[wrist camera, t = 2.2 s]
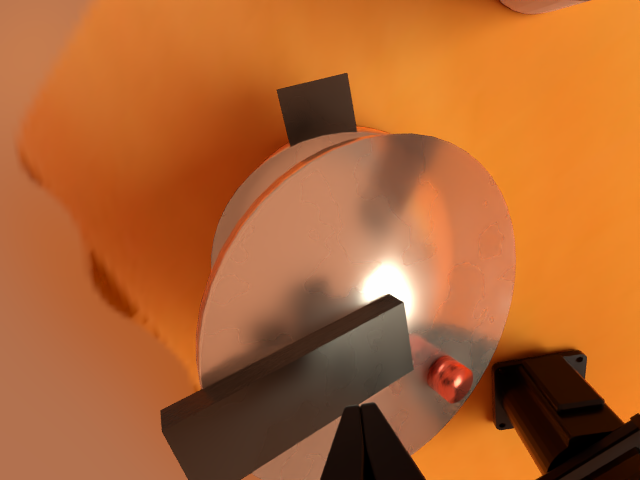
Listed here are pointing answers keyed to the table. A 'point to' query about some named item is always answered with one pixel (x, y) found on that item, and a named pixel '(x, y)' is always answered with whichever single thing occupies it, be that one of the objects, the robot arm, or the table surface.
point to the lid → (346, 307)
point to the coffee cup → (539, 5)
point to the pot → (297, 141)
